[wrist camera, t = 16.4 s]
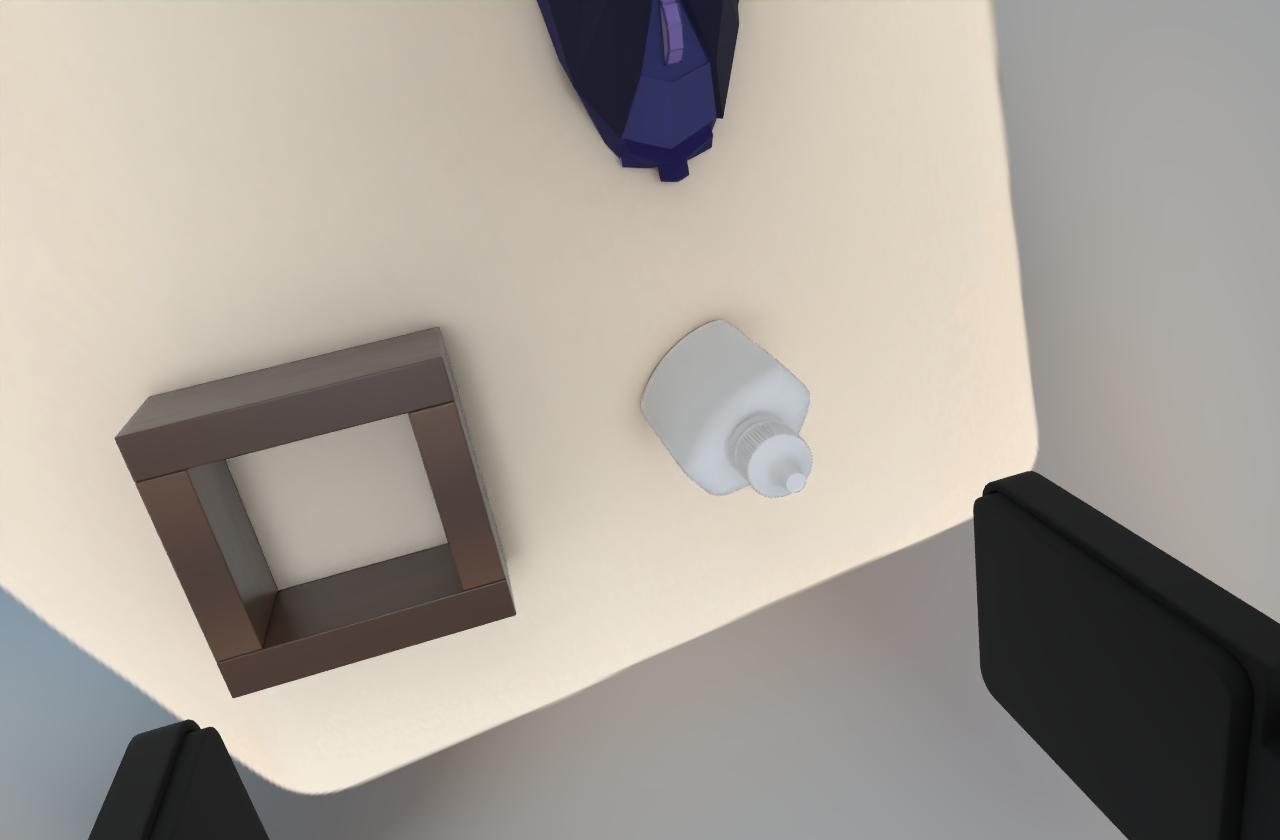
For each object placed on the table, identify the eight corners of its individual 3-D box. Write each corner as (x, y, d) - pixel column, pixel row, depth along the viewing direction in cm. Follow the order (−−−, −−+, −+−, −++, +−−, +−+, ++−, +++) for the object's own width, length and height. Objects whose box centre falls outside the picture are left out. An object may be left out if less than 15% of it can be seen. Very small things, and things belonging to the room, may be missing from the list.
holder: (147, 396, 35) (113, 438, 31) (438, 326, 37) (442, 356, 33) (250, 635, 40) (232, 699, 36) (506, 562, 42) (516, 615, 37)
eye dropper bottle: (761, 394, 42) (885, 505, 31) (649, 439, 41) (735, 568, 30) (736, 308, 40) (859, 393, 29) (619, 354, 39) (699, 458, 28)
